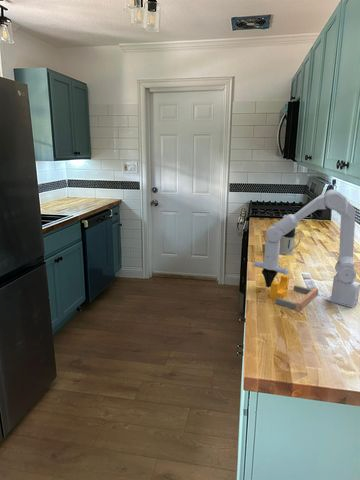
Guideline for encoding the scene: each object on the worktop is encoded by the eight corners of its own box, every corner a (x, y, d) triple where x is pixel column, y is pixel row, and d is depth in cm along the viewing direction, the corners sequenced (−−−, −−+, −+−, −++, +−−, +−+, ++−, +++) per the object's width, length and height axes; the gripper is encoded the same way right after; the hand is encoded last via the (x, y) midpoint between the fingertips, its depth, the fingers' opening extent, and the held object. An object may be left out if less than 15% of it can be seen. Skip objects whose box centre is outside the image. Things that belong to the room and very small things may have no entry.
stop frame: (317, 295, 138) (318, 288, 137) (299, 311, 124) (300, 303, 123) (294, 289, 144) (295, 282, 143) (275, 303, 130) (275, 296, 129)
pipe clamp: (280, 301, 133) (282, 286, 131) (269, 298, 135) (271, 283, 133) (291, 291, 142) (293, 277, 140) (281, 289, 144) (283, 274, 143)
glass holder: (286, 249, 201) (289, 225, 197) (304, 256, 189) (307, 230, 185) (274, 251, 198) (277, 226, 194) (292, 258, 185) (295, 231, 181)
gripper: (292, 257, 136) (289, 288, 140) (260, 249, 145) (257, 279, 149) (285, 261, 131) (281, 293, 135) (252, 253, 140) (249, 283, 144)
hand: (268, 286), depth 141 cm, fingers closed
